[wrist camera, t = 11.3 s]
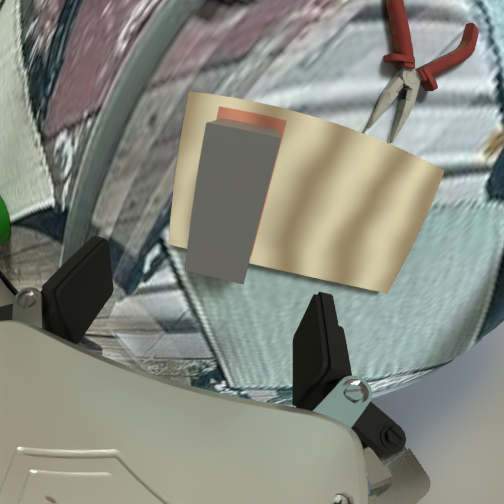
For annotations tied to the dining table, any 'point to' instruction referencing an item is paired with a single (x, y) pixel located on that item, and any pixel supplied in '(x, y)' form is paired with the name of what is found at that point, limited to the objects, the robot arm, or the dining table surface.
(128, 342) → the dining table surface
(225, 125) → the block
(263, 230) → the board
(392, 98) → the pliers
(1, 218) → the green cylindrical container
